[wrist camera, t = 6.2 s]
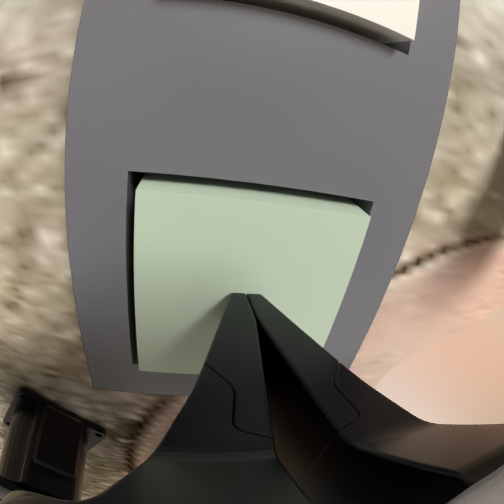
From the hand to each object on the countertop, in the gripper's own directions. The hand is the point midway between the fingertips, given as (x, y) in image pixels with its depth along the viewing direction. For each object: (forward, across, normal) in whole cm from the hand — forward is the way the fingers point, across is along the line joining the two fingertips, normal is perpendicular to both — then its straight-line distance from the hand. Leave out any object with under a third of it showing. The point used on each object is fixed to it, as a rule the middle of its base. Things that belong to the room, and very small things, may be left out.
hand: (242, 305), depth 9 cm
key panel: (+4, 0, -6) cm, 7 cm away
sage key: (+3, 0, 0) cm, 3 cm away
